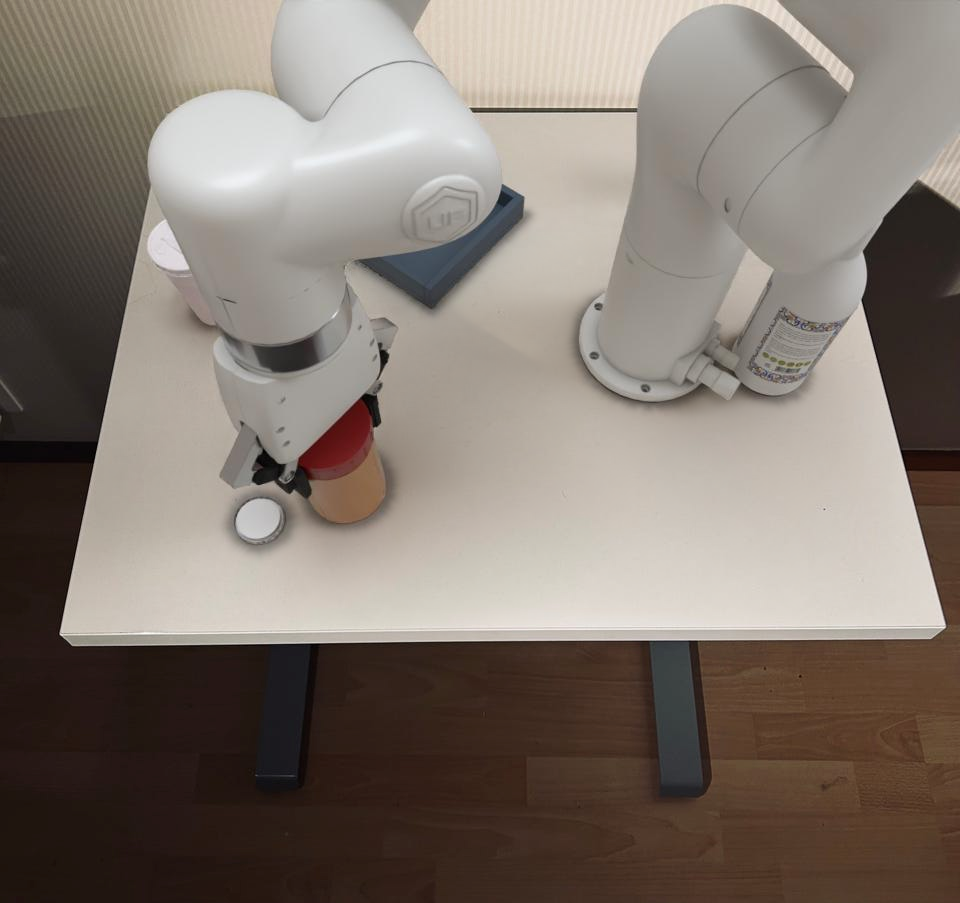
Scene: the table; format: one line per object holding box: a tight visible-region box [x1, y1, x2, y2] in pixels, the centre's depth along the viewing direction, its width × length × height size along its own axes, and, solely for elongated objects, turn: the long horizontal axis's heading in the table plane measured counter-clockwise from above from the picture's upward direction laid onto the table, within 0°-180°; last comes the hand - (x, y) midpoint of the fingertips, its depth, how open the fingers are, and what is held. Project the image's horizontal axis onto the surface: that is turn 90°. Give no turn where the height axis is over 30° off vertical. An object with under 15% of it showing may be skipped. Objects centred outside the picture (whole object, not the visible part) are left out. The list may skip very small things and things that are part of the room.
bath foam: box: [731, 217, 884, 396], centre depth 64 cm, size 7×7×20 cm
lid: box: [297, 398, 375, 480], centre depth 58 cm, size 7×7×2 cm
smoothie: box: [146, 218, 217, 327], centre depth 69 cm, size 6×6×14 cm
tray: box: [358, 183, 525, 309], centre depth 80 cm, size 20×15×3 cm
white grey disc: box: [233, 495, 285, 545], centre depth 66 cm, size 4×4×1 cm
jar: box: [307, 438, 387, 524], centre depth 63 cm, size 7×7×11 cm
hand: (330, 448), depth 61 cm, fingers closed on lid, 7 cm apart
